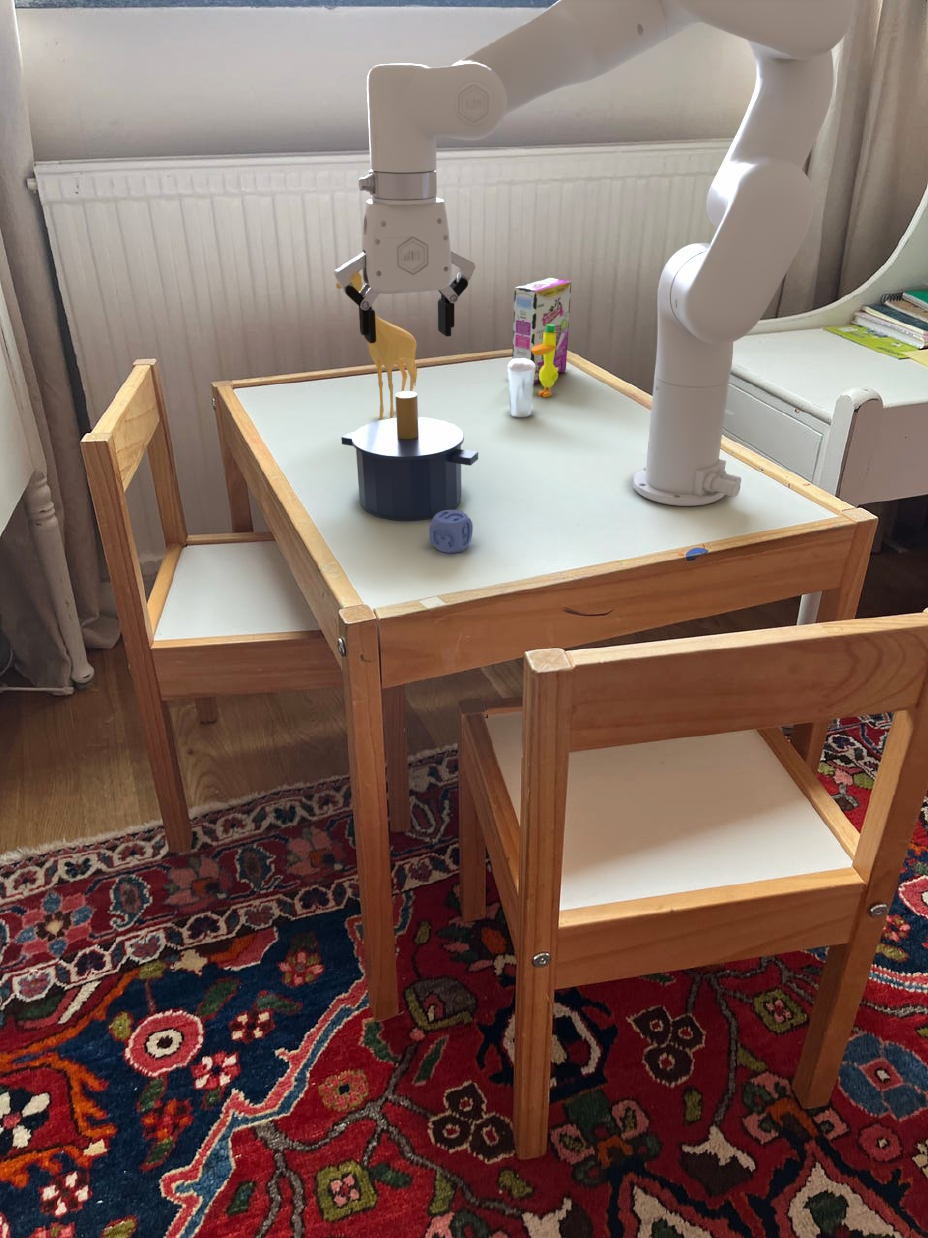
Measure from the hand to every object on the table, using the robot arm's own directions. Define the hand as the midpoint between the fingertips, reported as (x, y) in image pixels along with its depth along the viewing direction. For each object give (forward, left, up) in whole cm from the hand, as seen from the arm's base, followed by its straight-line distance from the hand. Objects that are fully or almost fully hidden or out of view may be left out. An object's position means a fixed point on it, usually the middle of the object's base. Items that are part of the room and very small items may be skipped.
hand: (407, 337), depth 120 cm
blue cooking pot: (0, +1, -22) cm, 22 cm away
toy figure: (+16, -45, -22) cm, 53 cm away
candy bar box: (+24, -53, -22) cm, 62 cm away
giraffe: (+26, -17, -22) cm, 38 cm away
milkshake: (+12, -35, -22) cm, 43 cm away
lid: (0, +1, -13) cm, 13 cm away
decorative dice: (-14, +7, -22) cm, 27 cm away
